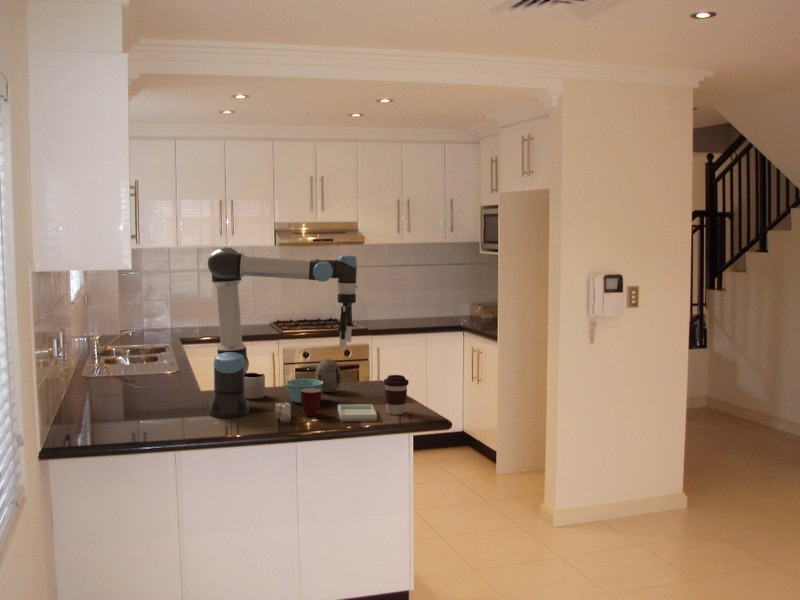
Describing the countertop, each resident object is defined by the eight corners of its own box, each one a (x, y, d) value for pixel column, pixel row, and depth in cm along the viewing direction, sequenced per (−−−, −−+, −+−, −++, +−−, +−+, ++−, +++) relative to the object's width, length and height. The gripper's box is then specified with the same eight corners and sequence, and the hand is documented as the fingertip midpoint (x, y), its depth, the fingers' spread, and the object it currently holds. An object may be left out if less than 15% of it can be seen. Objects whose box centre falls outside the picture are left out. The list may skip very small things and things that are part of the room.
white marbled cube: (278, 418, 317) (278, 406, 317) (275, 415, 322) (275, 403, 321) (290, 417, 319) (291, 405, 319) (287, 414, 324) (287, 402, 323)
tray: (340, 421, 316) (340, 415, 315) (337, 410, 332) (337, 404, 332) (376, 421, 318) (377, 414, 317) (372, 410, 334) (372, 404, 334)
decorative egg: (330, 396, 358) (331, 362, 356) (309, 392, 364) (309, 359, 362) (346, 391, 368) (346, 358, 366) (325, 388, 374) (325, 355, 372)
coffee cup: (379, 410, 334) (380, 374, 332) (402, 409, 338) (403, 373, 336) (388, 416, 325) (388, 379, 323) (411, 415, 328) (412, 378, 327)
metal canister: (280, 422, 312) (280, 407, 311) (280, 419, 316) (280, 404, 315) (290, 422, 312) (291, 407, 312) (290, 419, 316) (291, 404, 316)
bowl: (279, 403, 342) (279, 384, 342) (294, 395, 357) (295, 377, 356) (313, 407, 338) (314, 387, 337) (328, 399, 353) (328, 380, 352)
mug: (302, 410, 330) (302, 386, 329) (322, 411, 331) (322, 387, 329) (299, 417, 320) (299, 392, 319) (319, 418, 320) (320, 392, 319)
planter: (235, 398, 349) (235, 376, 348) (245, 393, 360) (245, 371, 359) (258, 400, 347) (258, 378, 346) (268, 395, 357) (269, 373, 356)
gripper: (351, 296, 323) (350, 349, 326) (359, 290, 348) (358, 340, 350) (332, 295, 324) (331, 348, 326) (342, 289, 349) (341, 339, 351)
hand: (345, 344), depth 338 cm, fingers open, 13 cm apart
